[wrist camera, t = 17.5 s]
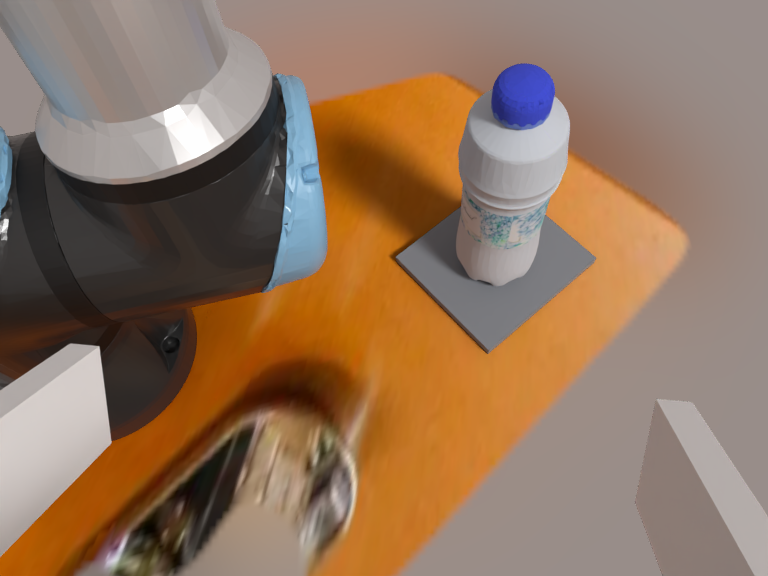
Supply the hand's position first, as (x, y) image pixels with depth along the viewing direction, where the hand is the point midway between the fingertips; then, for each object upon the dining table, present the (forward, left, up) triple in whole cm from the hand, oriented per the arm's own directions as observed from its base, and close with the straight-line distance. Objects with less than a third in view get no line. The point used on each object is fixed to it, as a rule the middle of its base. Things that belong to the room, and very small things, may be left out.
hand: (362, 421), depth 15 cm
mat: (-11, +19, -32) cm, 39 cm away
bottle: (-11, +19, -31) cm, 38 cm away
